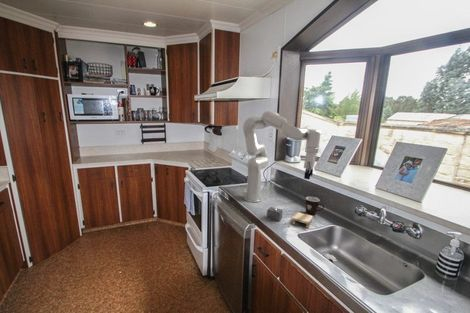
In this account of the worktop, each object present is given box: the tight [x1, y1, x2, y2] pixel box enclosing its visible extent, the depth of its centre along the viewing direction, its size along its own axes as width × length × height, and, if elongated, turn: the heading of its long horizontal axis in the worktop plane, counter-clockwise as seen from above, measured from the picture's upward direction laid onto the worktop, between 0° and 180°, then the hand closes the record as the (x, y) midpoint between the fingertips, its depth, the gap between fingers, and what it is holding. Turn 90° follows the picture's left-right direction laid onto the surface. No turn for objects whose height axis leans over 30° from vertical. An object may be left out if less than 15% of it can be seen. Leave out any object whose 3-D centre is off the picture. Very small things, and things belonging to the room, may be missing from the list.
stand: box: [290, 211, 314, 230], centre depth 144 cm, size 10×10×4 cm
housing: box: [266, 206, 284, 222], centre depth 147 cm, size 8×6×6 cm
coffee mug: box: [305, 196, 325, 216], centre depth 156 cm, size 12×9×10 cm
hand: (308, 177), depth 148 cm, fingers open, 9 cm apart
